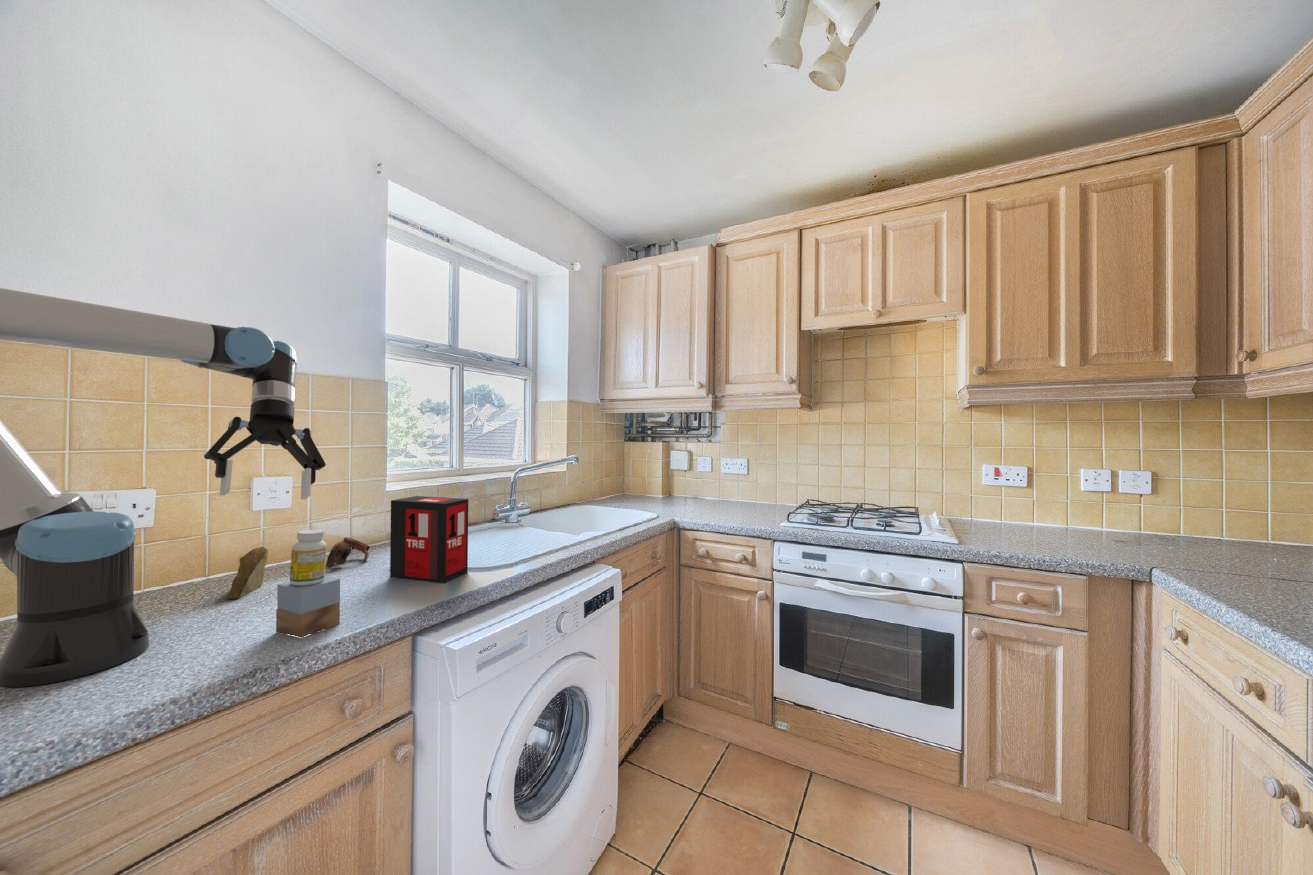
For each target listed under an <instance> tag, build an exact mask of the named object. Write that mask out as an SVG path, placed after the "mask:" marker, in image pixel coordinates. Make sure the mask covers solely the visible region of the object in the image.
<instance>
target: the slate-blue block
mask: <svg viewBox="0 0 1313 875" xmlns="http://www.w3.org/2000/svg"><path fill="white" fill-rule="evenodd" d="M276 598H277V599H276V601H277V603H276V604H277V606H276V607H277V608H276V609H281V610H285V611H289V612H292V613H296V614H300V615H301V614H304V613H307V612H310V611H313V610H316V609H319V608H322V607H326V606H329V605H332V604H335V603H338V602H340V603H341V579H340V578H338V577H332V576H327V575H325V579H324V580H323V581H322V582H320V583H317V584H313V585H305V586H296V585H292V584H291V583H290V580H289V581H286V582H282V583H278V584H277V596H276Z"/></svg>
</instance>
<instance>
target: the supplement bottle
mask: <svg viewBox="0 0 1313 875" xmlns="http://www.w3.org/2000/svg"><path fill="white" fill-rule="evenodd" d="M324 532H325V531H324V530H322V529H304V530H303V529H302V530H299V531H297V535H296V539H297V542H295V543H294V544H293V545H291V546H292V547H291V558H290V574H289V581H290V583H291V584H292V585H296V586H305V585H313V584H317V583H320V582H322V581H323V580H324V579H325V576H326V565H327V564H326V562H327V549H328V545H327V542H326V541H324V540H323V539H324Z"/></svg>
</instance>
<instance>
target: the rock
mask: <svg viewBox="0 0 1313 875" xmlns="http://www.w3.org/2000/svg"><path fill="white" fill-rule="evenodd" d="M268 555H269V550H268V549H267V548H265V547H264V546H260V547H255V548H253V549H251V550H249V551H248V552H247V553H245V554H244V555H243V556H241V557H240V559H239V566H238V570H237V574H236V576H235V577H234V579H233V580H232V583H231V587H230V589H229V591H228V594H227V597H226V599H228V600H229V599H232V600H236V599H237V600H238V599H240V598H243V597H244V596H246V595H248V594H250V593H252V592H254V591H255V590H257V589H258V588H259V587H262V585H263V581H264V574H265V572H264V571H265V569H266V564H267V561H268Z"/></svg>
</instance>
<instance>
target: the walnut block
mask: <svg viewBox="0 0 1313 875" xmlns="http://www.w3.org/2000/svg"><path fill="white" fill-rule="evenodd" d="M340 606H341V601H340V602H338V603H335V604H332V605H329V606H326V607H322V608H319V609H316V610H313V611H310V612H307V613H304V614H301V615H300V614H296V613H292V612H289V611H285V610H281V609H277V608H276V610H275V613H276V615H275V616H276V618H275V619H276V620H275V622H276V623H275V630H276V631H275V633H276V632H279V633H278V634H280V633H283V634H290V635H295V636H298V637H301V638H302V637H304V636H306V635H308V634H313V633H315V634H317V633H316V632H318V631H321V630H323V629H326V630H328V629H330V627H331V628H333V627H336V626H338V625H340V623H341V622H340V621H341V620H340V618H341V617H340V616H341V615H340V613H341V610H340V609H341V607H340ZM335 625H336V626H335ZM332 626H333V627H332ZM323 631H324V630H323ZM321 632H322V631H321ZM318 633H319V632H318ZM283 634H282V635H283ZM313 635H314V634H313ZM302 639H303V638H302Z"/></svg>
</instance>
